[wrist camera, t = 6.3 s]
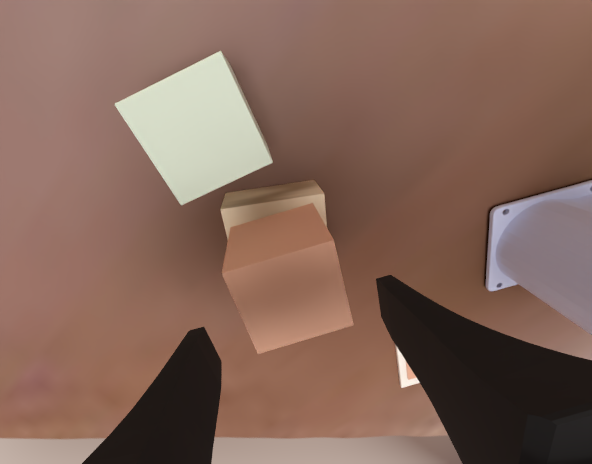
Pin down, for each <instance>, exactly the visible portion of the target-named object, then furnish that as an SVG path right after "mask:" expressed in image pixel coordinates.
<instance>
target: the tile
mask: <svg viewBox="0 0 592 464" xmlns="http://www.w3.org/2000/svg"><path fill="white" fill-rule="evenodd" d="M395 349H396V357H397V365H398V374H399V382H400V386H401V388H403V387H406V386H410V385H413V384H417V383H420V382H419V381H418V379H417V377H416V376H415V374H414V373H413V371H412V370H411V368H410V367H409V365H408V363H407V362H406V360H405V359H404V357H403V356H402V354H401V352H400V351H399V349H398V348H397V346H396V344H395Z"/></svg>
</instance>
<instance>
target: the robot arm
mask: <svg viewBox="0 0 592 464" xmlns="http://www.w3.org/2000/svg"><path fill="white" fill-rule="evenodd" d="M504 210H505V211H504ZM503 211H504V212H503ZM376 282H377V289H378V296H379V303H380V310H381V317H382V319H383V321H384V323H385V325H386V328H387V330H388V332H389V334H390V336H391V338H392V340H393V341H394V343H395V344H396V346H397V348H398V349H399V351H400V352H401V354H402V356H403V357H404V359H405V360H406V362H407V363H408V365H409V367H410V368H411V370H412V371H413V373H414V374H415V376H416V377H417V379H418V381H419V382H420V384H421V385H422V387H423V388H424V390H425V392H426V394H427V395H428V397H429V399H430V400H431V402H432V404H433V406H434V408H435V410H436V412H437V414H438V416H439V418H440V420H441V422H442V423H443V425H444V427H445V429H446V431H447V433H448V435H449V437H450V439H451V441H452V443H453V445H454V447H455V449H456V451H457V453H458V455H459V457H460V459H461V461H462V463H463V464H592V360H587V359H583V358H579V357H575V356H571V355H567V354H564V353H561V352H557V351H554V350H550V349H547V348H543V347H540V346H537V345H534V344H531V343H528V342H525V341H522V340H519V339H516V338H513V337H511V336H508V335H505V334H502V333H500V332H497V331H495V330H492V329H489V328H487V327H485V326H482V325H480V324H478V323H475V322H473V321H471V320H469V319H466V318H464V317H462V316H460V315H458V314H456V313H454V312H452V311H450V310H448V309H446V308H444V307H443V306H441V305H439V304H437V303H436V302H434V301H432V300H430V299H429V298H427V297H425V296H423V295H422V294H420V293H419V292H417V291H415V290H414V289H412V288H411V287H409V286H407V285H406V284H404V283H403V282H401V281H400V280H398V279H396V278H395V277H393V276H392V275H388V276H385V277H381V278H377V279H376ZM517 284H519V285H520V286H522V287H523V288H525V289H526V290H528V291H529V292H530V293H532V294H533V295H535V296H536V297H538V298H539V299H541V300H542V301H543V302H545V303H546V304H548V305H549V306H551V307H552V308H553V309H555V310H556V311H558V312H559V313H561V314H562V315H563V316H565V317H566V318H568V319H569V320H571V321H572V322H574V323H575V324H576V325H578V326H579V327H581V328H582V329H584V330H585V331H586V332H588V333H589V334H591V335H592V180H590V181H587V182H583V183H580V184H576V185H572V186H569V187H565V188H561V189H558V190H554V191H550V192H547V193H543V194H539V195H536V196H532V197H529V198H525V199H521V200H518V201H514V202H510V203H507V204H503V205H499V206H496V207H494V208H493V209H492V210H491V212H490V222H489V238H488V254H487V270H486V288H487V289H488V290H489V291H495V290H499V289H503V288H506V287H510V286H513V285H517ZM220 392H221V360H220V358H219V356H218V354H217V352H216V350H215V348H214V346H213V344H212V342H211V340H210V338H209V336H208V334H207V332H206V330H205V328H204V327H201V328H197V329H194V330H190V331H189V332H188V333H187V335H186V336H185V337H184V339H183V340H182V342H181V343H180V345H179V346H178V347H177V349H176V350H175V352H174V353H173V355H172V356H171V358H170V359H169V360H168V362H167V363H166V365H165V366H164V368H163V369H162V370H161V372H160V373H159V375H158V376H157V377H156V379H155V380H154V381H153V383H152V384H151V385H150V387H149V388H148V389H147V391H146V392H145V393H144V395H143V396H142V397H141V398H140V400H139V401H138V402H137V404H136V405H135V406H134V407H133V409H132V410H131V411H130V412H129V413H128V415H127V416H126V417H125V418H124V419H123V420H122V421H121V423H120V424H119V425H118V426H117V427H116V428H115V429H114V431H113V432H112V433H111V434H110V435H109V436H108V437H107V438H106V439H105V440H104V441H103V442H102V443H101V444H100V445H99V447H98V448H97V449H96V450H95V451H94V452H93V453H92V454H91V455H90V456H89V457H88V458H87V459H86V460H85V461H84V462H83V463H82V464H211V460H212V450H213V443H214V436H215V429H216V422H217V415H218V408H219V400H220Z"/></svg>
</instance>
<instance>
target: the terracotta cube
mask: <svg viewBox="0 0 592 464" xmlns="http://www.w3.org/2000/svg"><path fill="white" fill-rule="evenodd" d="M222 275H223V278H224V280H225V282H226V284H227V286H228V289H229V291H230V293H231V295H232V298H233V300H234V302H235V304H236V306H237V309H238V311H239V313H240V315H241V317H242V320H243V322H244V324H245V326H246V328H247V331H248V333H249V335H250V337H251V340H252V342H253V344H254V346H255V348H256V351H257V353H258V354H260V353H263V352H266V351H270V350H273V349H276V348H280V347H283V346H286V345H290V344H293V343H296V342H300V341H303V340H306V339H310V338H313V337H316V336H320V335H323V334H326V333H330V332H333V331H336V330H340V329H343V328H346V327H350V326H353V320H352V316H351V312H350V307H349V303H348V299H347V295H346V290H345V286H344V282H343V277H342V273H341V269H340V265H339V260H338V256H337V252H336V247H335V243H334V239H333V238H332V236H331V234H330V232H329V231H328V229H327V227H326V225H325V224H324V222H323V220H322V218H321V217H320V215H319V213H318V211H317V209H316V208H315V206H314V204H313V203H311V204H307V205H304V206H301V207H297V208H294V209H290V210H287V211H284V212H280V213H277V214H274V215H270V216H267V217H264V218H260V219H257V220H253V221H250V222H247V223H243V224H240V225H237V226H233V227H230V233H229V238H228V243H227V248H226V253H225V258H224V264H223V269H222Z"/></svg>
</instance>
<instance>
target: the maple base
mask: <svg viewBox="0 0 592 464" xmlns="http://www.w3.org/2000/svg"><path fill="white" fill-rule="evenodd" d="M311 203H313V204H314V206H315V208H316V209H317V211H318V213H319V215H320V217H321V218H322V220H323V222H324V224H325V225H326V227H327V222H326V209H325V196H324V192H323V191H322V190H321V188H320V187H319V186H318V184H317V183H316V182H315V180H308V181H302V182H295V183H288V184H282V185H275V186H268V187H262V188H255V189H248V190H242V191H235V192H228V193H225V197H224V200H223V203H222V206H221V209H220V210H221V214H222V218H223V222H224V226H225V231H226V235H227V239H228V238H229V233H230V227H233V226H237V225H240V224H243V223H247V222H250V221H253V220H257V219H260V218H264V217H267V216H270V215H274V214H277V213H280V212H284V211H287V210H290V209H294V208H297V207H301V206H304V205H307V204H311Z"/></svg>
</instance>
